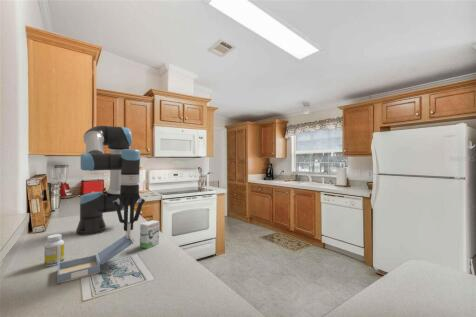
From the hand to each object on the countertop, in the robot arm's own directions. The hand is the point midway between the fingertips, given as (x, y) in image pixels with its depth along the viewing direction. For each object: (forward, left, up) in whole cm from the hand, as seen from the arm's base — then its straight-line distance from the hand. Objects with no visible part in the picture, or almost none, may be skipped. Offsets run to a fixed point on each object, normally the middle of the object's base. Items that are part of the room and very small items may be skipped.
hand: (128, 237), depth 99 cm
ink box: (-11, +12, -10) cm, 19 cm away
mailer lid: (0, -5, -2) cm, 6 cm away
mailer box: (0, -18, -10) cm, 20 cm away
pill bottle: (-15, -26, -10) cm, 31 cm away
